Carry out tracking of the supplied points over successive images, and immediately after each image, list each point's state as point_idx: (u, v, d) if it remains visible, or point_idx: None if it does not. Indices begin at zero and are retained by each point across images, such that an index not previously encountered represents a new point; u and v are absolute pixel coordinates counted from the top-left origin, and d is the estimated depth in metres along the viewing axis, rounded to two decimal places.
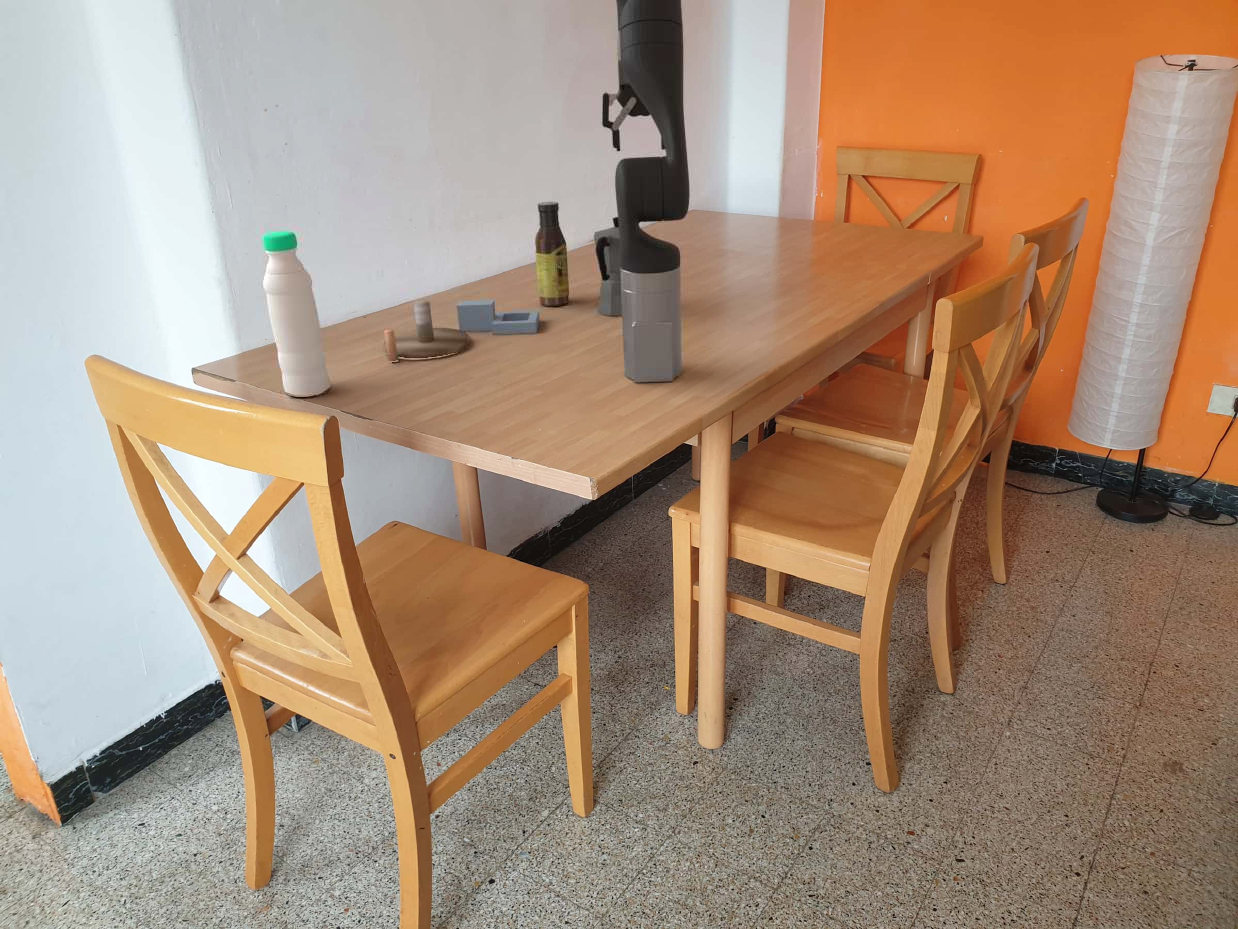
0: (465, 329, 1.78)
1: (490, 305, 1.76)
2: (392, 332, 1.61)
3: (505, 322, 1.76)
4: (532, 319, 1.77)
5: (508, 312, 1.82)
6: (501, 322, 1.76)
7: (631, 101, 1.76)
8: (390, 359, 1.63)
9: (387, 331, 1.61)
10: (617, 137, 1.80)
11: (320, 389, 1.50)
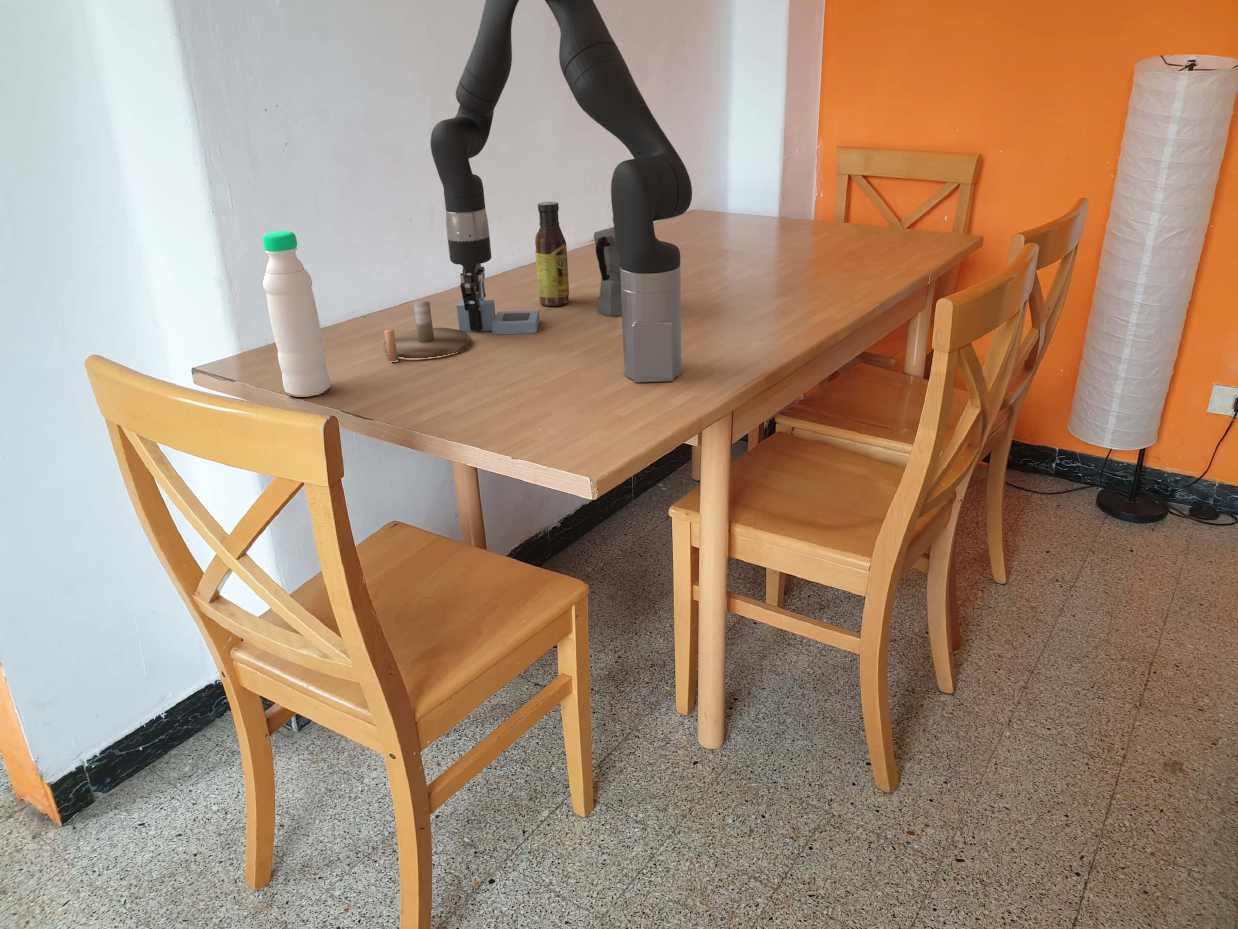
0: (465, 329, 1.78)
1: (490, 305, 1.76)
2: (392, 332, 1.61)
3: (505, 322, 1.76)
4: (532, 319, 1.77)
5: (508, 312, 1.82)
6: (501, 322, 1.76)
7: (482, 277, 1.74)
8: (390, 359, 1.63)
9: (387, 331, 1.61)
10: None
11: (320, 389, 1.50)
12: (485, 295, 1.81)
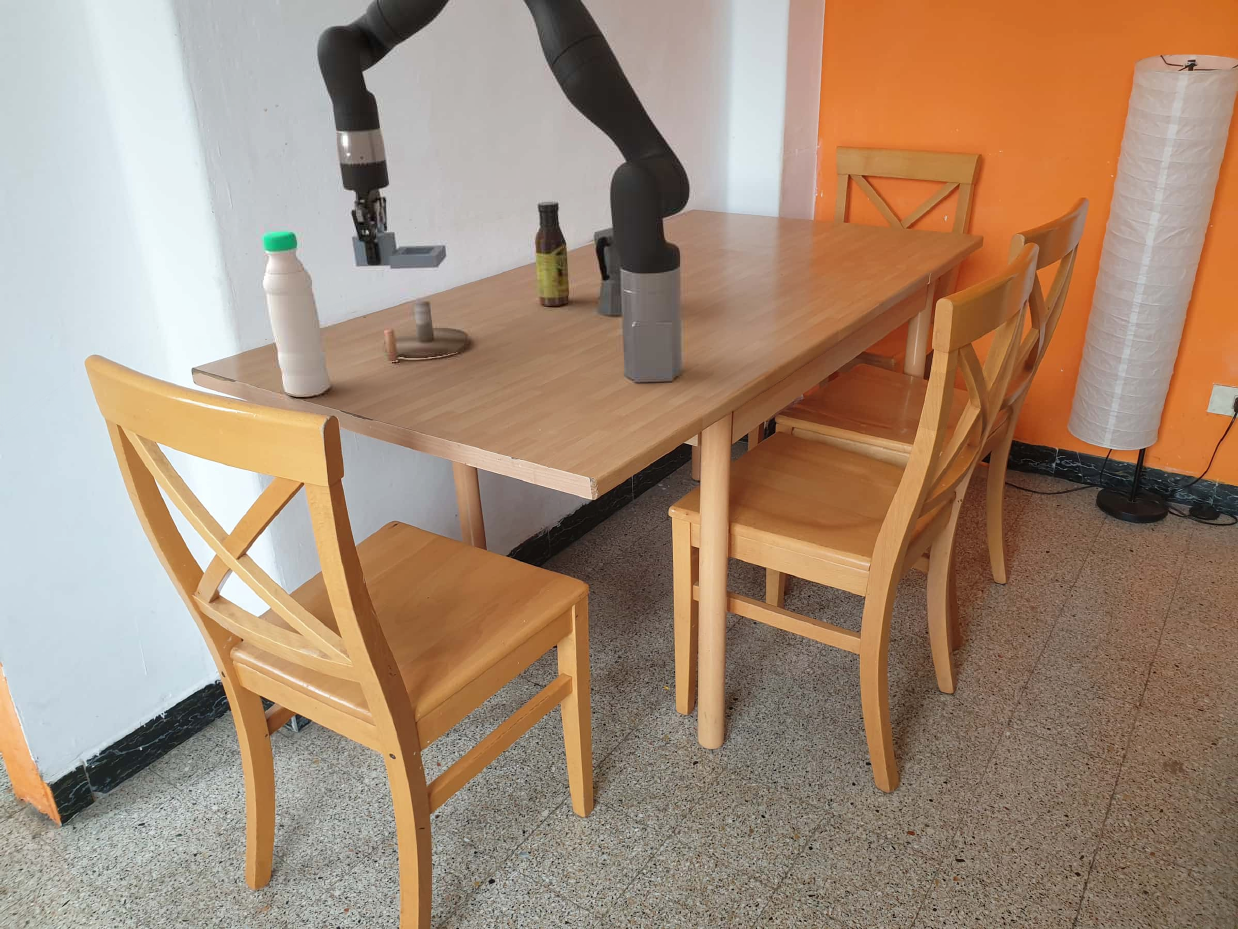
0: (362, 263, 1.64)
1: (388, 237, 1.62)
2: (392, 332, 1.61)
3: (404, 255, 1.61)
4: (434, 252, 1.62)
5: (411, 247, 1.67)
6: (400, 255, 1.61)
7: (378, 205, 1.60)
8: (390, 359, 1.63)
9: (387, 331, 1.61)
10: (378, 249, 1.62)
11: (320, 389, 1.50)
12: (386, 228, 1.67)
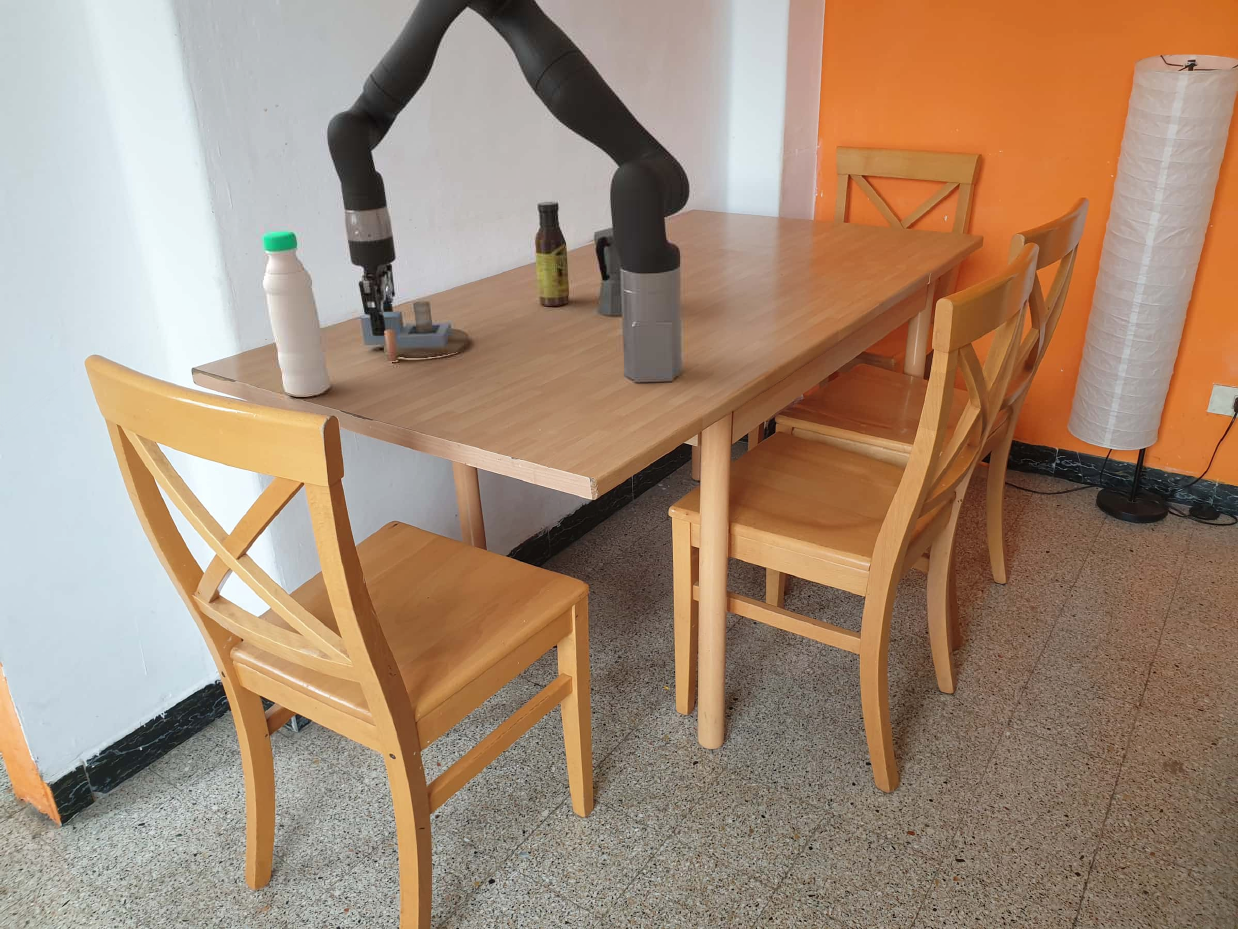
0: (370, 342, 1.69)
1: (396, 317, 1.67)
2: (392, 332, 1.61)
3: (411, 335, 1.66)
4: (441, 331, 1.68)
5: None
6: (407, 335, 1.67)
7: (385, 279, 1.64)
8: (390, 359, 1.63)
9: (387, 331, 1.61)
10: (383, 321, 1.65)
11: (320, 389, 1.50)
12: (394, 294, 1.72)
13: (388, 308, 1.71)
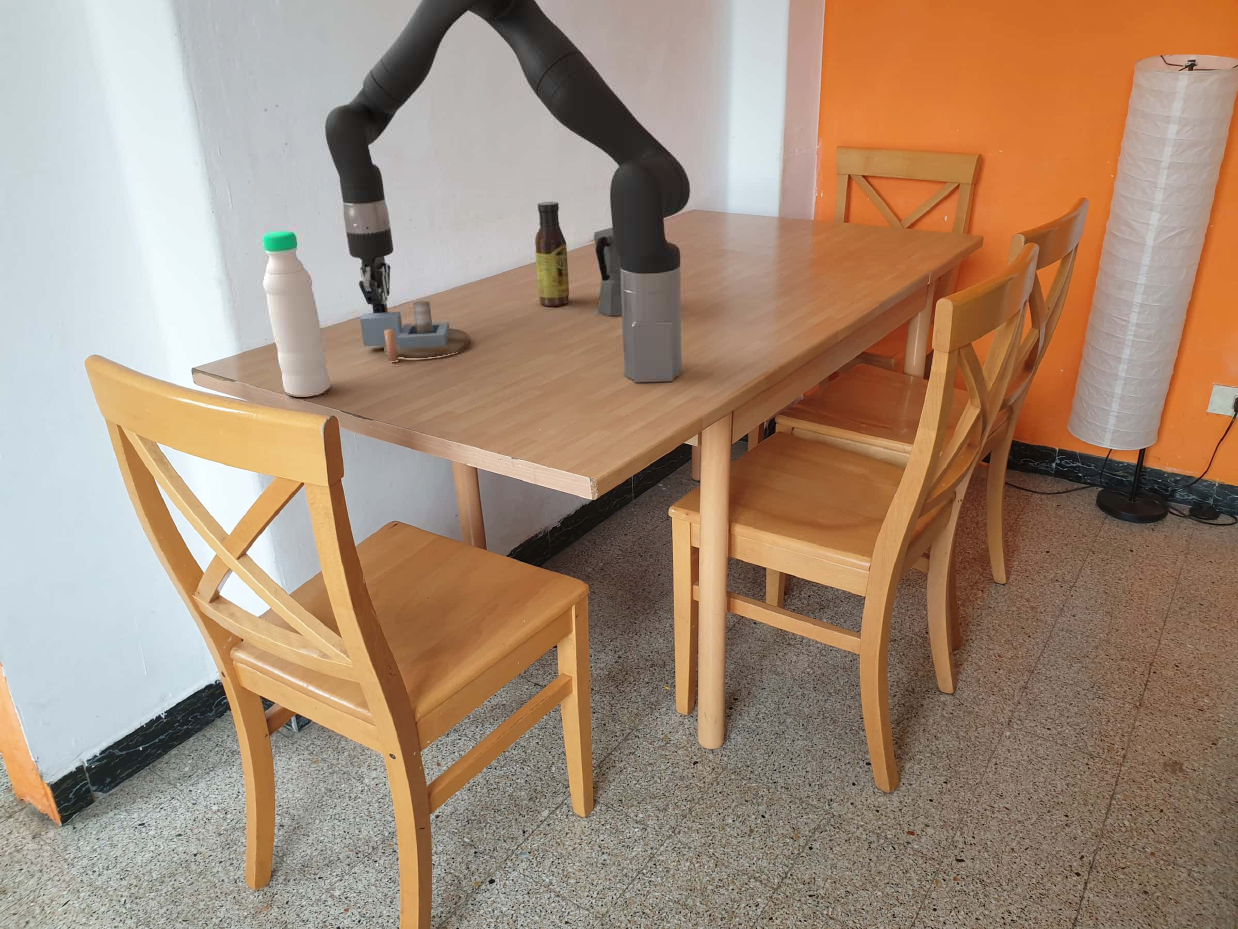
0: (370, 343, 1.68)
1: (395, 318, 1.67)
2: (392, 332, 1.61)
3: (412, 335, 1.66)
4: (441, 331, 1.68)
5: None
6: (408, 335, 1.66)
7: (383, 271, 1.67)
8: (390, 359, 1.63)
9: (387, 331, 1.61)
10: (385, 310, 1.71)
11: (320, 389, 1.50)
12: (388, 292, 1.72)
13: (382, 307, 1.71)
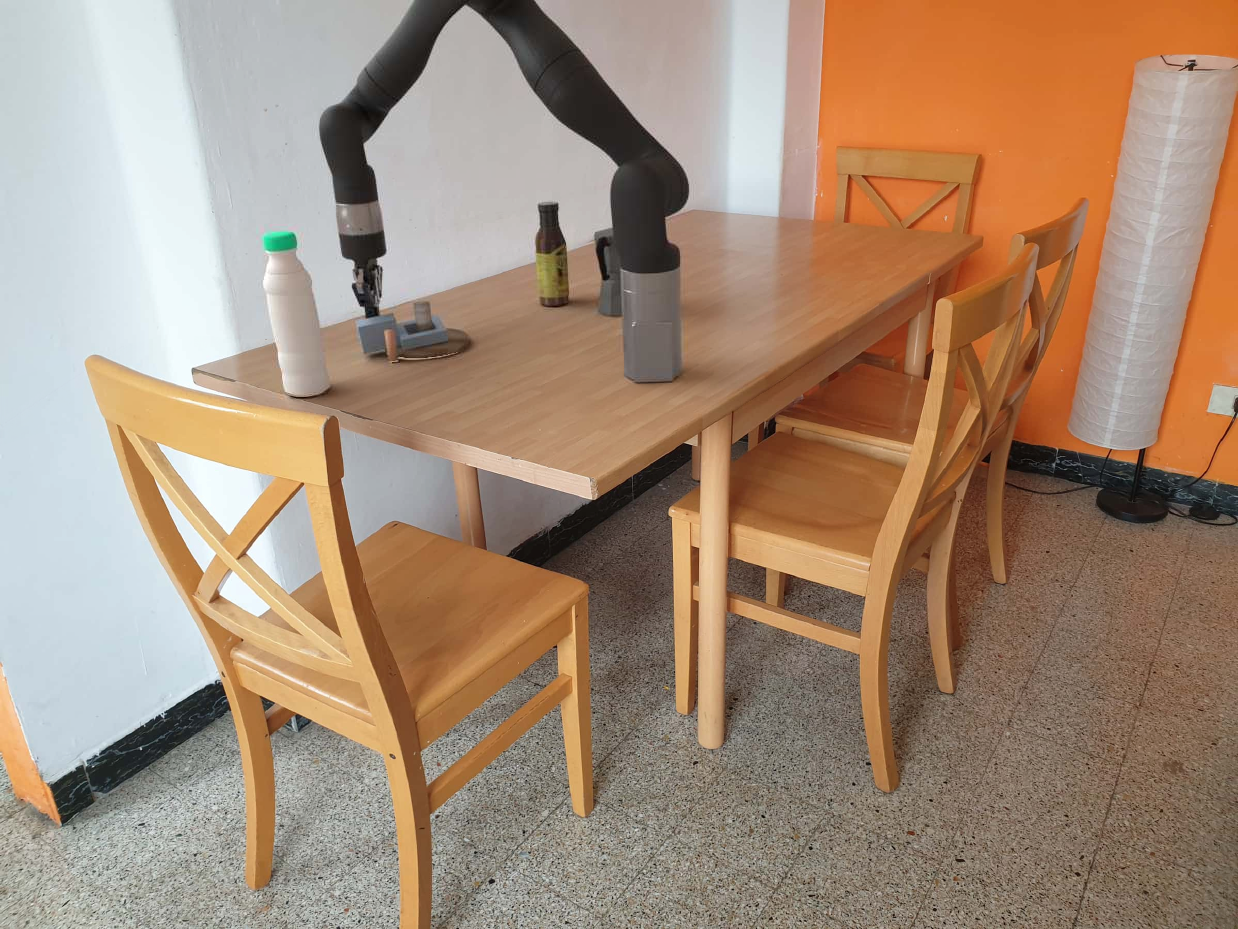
0: (370, 350, 1.66)
1: (394, 320, 1.65)
2: (392, 332, 1.61)
3: (415, 335, 1.66)
4: (440, 326, 1.68)
5: (406, 323, 1.71)
6: (410, 336, 1.65)
7: (376, 273, 1.64)
8: (390, 359, 1.63)
9: (387, 331, 1.61)
10: (378, 313, 1.68)
11: (320, 389, 1.50)
12: (381, 294, 1.69)
13: None
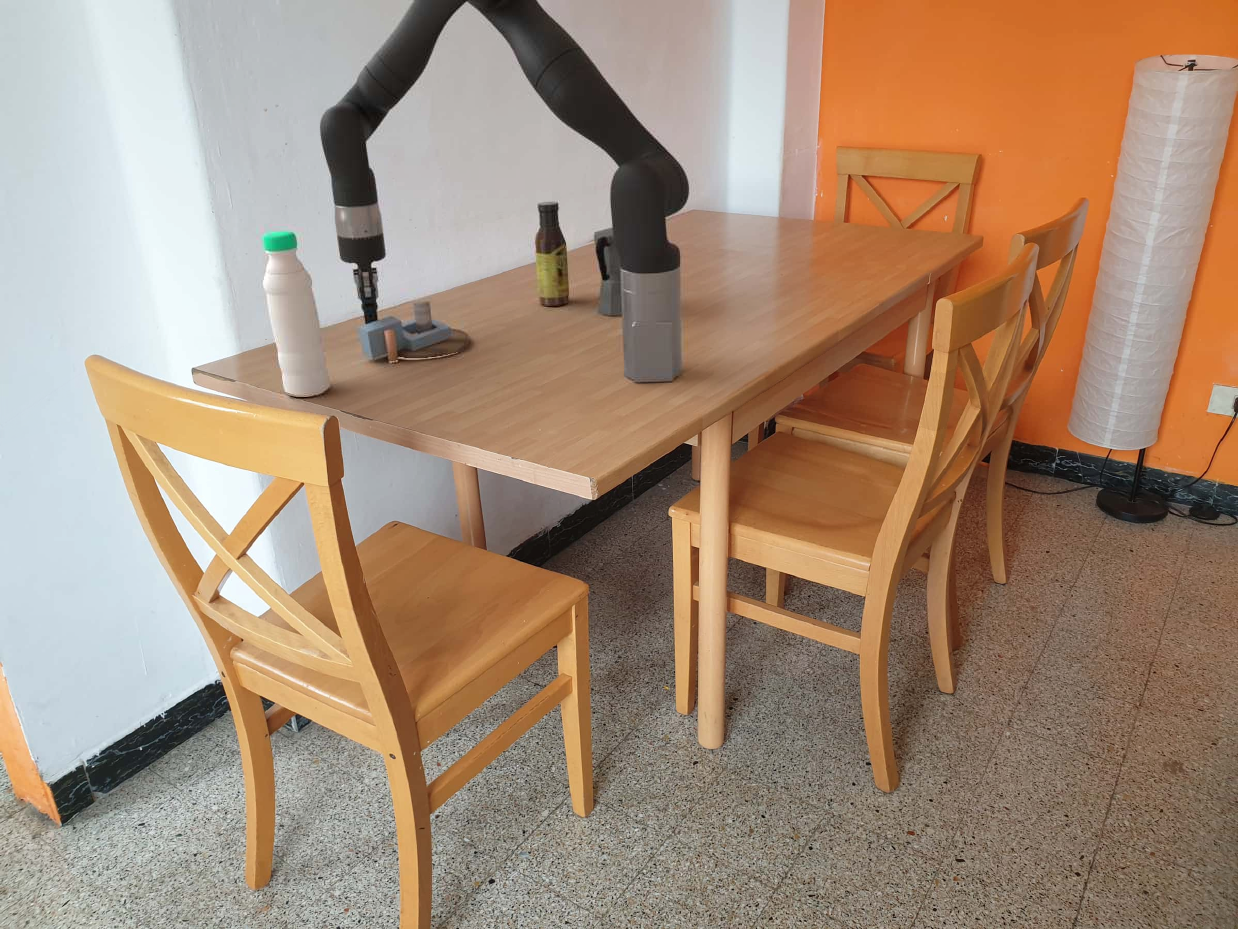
0: (378, 354, 1.63)
1: (400, 322, 1.64)
2: (392, 332, 1.61)
3: (421, 335, 1.66)
4: (441, 324, 1.69)
5: None
6: (417, 336, 1.65)
7: (377, 276, 1.62)
8: (390, 359, 1.63)
9: (387, 331, 1.61)
10: None
11: (320, 389, 1.50)
12: None
13: None
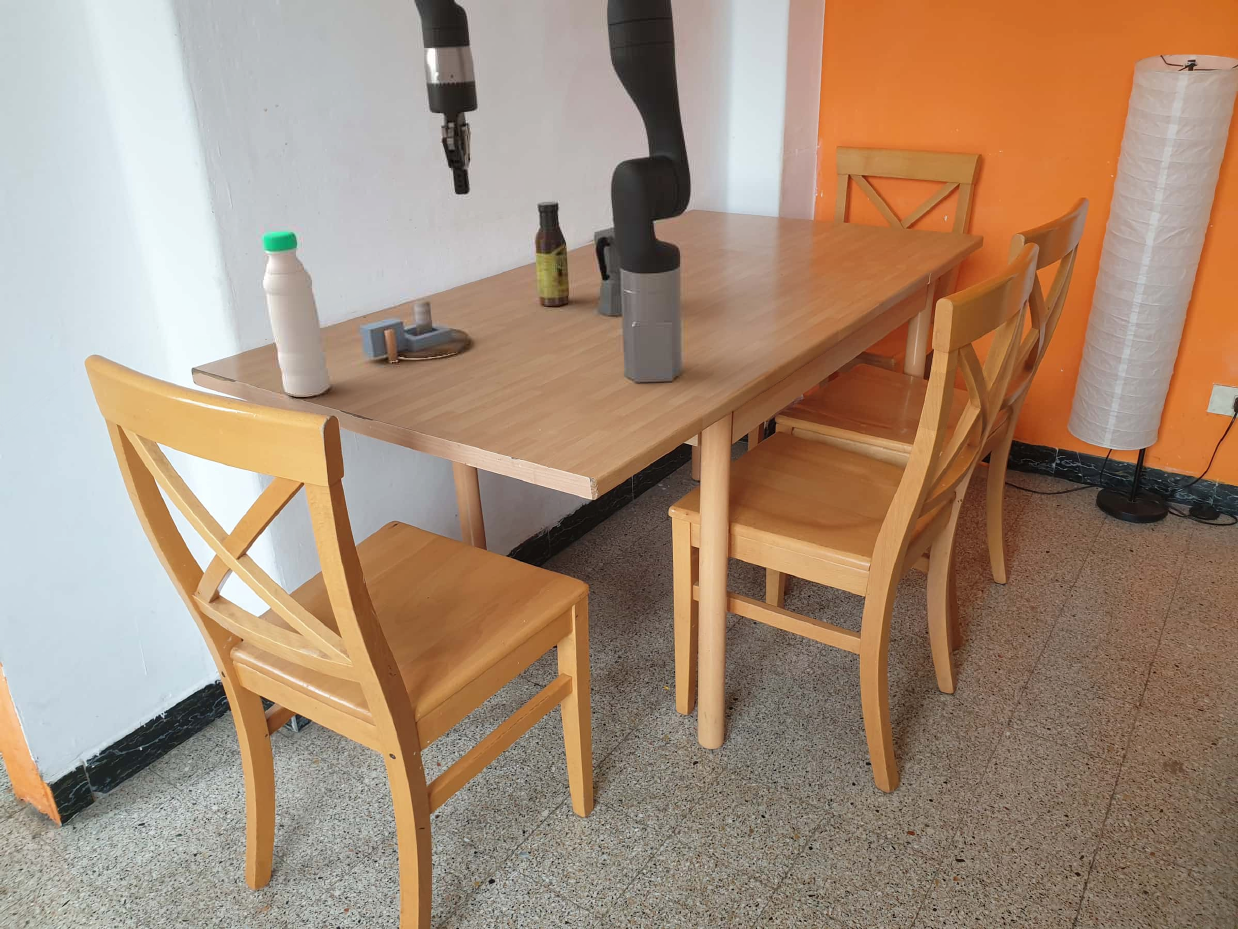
0: (379, 354, 1.63)
1: (401, 322, 1.64)
2: (392, 332, 1.61)
3: (422, 336, 1.66)
4: (441, 327, 1.70)
5: None
6: (418, 337, 1.65)
7: (466, 130, 1.50)
8: (390, 359, 1.63)
9: (387, 331, 1.61)
10: (467, 177, 1.54)
11: (320, 389, 1.50)
12: (469, 159, 1.56)
13: None
